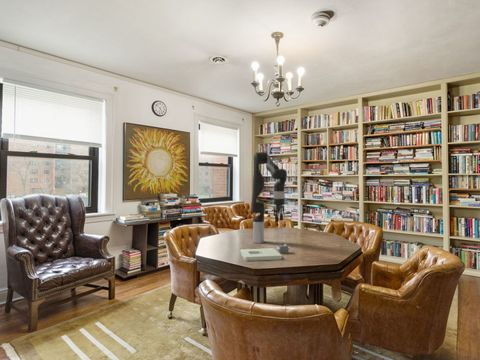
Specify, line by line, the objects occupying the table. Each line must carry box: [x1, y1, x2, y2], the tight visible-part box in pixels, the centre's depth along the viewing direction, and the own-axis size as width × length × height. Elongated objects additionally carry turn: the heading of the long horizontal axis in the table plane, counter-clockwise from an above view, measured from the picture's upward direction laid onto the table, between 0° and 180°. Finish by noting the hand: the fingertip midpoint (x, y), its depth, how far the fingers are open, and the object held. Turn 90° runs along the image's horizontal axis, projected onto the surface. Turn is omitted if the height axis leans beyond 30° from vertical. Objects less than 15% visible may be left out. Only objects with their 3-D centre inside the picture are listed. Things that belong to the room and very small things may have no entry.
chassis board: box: [240, 247, 283, 262], centre depth 189 cm, size 20×24×3 cm
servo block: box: [275, 243, 291, 255], centre depth 198 cm, size 4×9×6 cm, turn 98°
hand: (279, 221), depth 194 cm, fingers open, 8 cm apart
